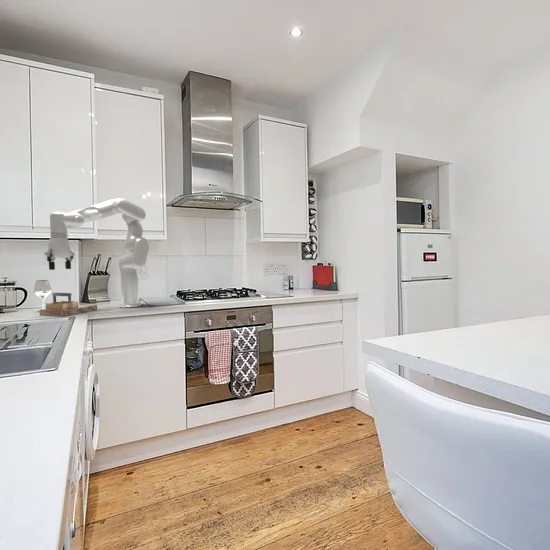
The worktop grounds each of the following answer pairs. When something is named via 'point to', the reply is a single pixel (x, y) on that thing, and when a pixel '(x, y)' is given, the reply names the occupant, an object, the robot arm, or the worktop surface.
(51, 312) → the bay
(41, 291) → the wineglass
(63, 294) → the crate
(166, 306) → the worktop surface
